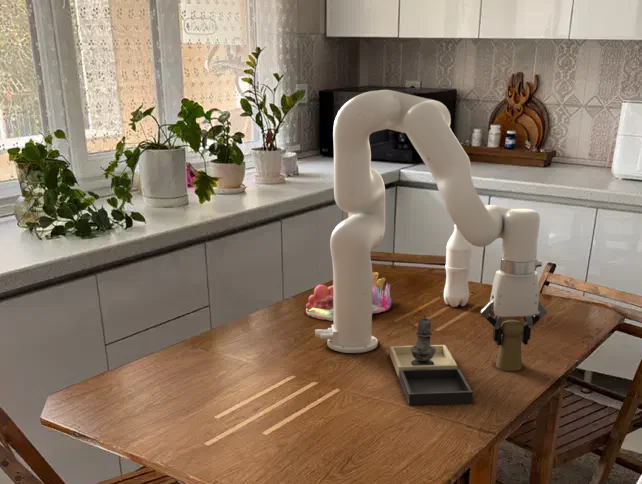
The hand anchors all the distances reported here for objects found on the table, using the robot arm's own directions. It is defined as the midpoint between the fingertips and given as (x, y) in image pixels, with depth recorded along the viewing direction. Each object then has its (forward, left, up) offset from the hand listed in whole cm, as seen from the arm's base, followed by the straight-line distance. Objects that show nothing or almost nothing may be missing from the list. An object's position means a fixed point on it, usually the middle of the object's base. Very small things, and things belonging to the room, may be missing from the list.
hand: (510, 342), depth 180 cm
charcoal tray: (-20, -13, -6) cm, 25 cm away
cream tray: (-20, +2, -6) cm, 21 cm away
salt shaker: (-20, +2, -6) cm, 21 cm away
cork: (0, 0, -6) cm, 6 cm away
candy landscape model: (-33, +47, -6) cm, 58 cm away
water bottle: (-2, +48, -6) cm, 48 cm away
